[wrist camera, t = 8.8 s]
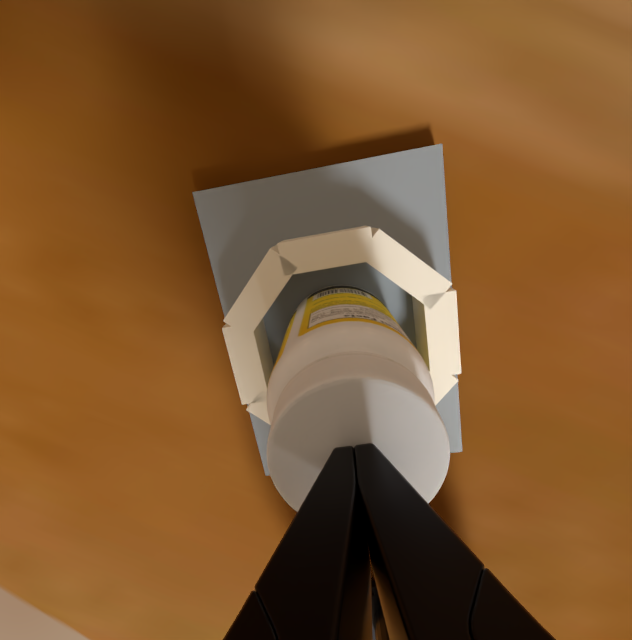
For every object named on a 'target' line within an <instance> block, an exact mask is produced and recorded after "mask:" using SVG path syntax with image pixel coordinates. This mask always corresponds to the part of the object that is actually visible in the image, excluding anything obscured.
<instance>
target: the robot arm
mask: <svg viewBox="0 0 632 640" xmlns="http://www.w3.org/2000/svg"><path fill="white" fill-rule="evenodd" d="M368 547H369V548H368ZM369 553H370V556H369ZM370 559H371V564H372V569H373V574H374V578H375V580H371V567H370ZM223 640H556V639H555V638H554V637H553V636H552V635H551V634H550V633H549V632H547V631H546V630H545V629H544V628H543V627H542V626H541V625H540V624H539V623H538V621H537V620H536V619H535V618H534V617H533V616H532V615H531V614H530V613H529V612H528V611H527V610H526V609H525V608H524V607H523V606H522V605H521V604H520V603H519V602H518V601H517V600H516V599H515V598H514V596H513V595H512V594H511V593H510V592H509V591H508V590H507V589H506V588H505V587H504V586H503V585H502V584H501V582H500V581H499V580H498V579H497V578H496V577H495V576H494V575H493V574H492V573H491V571H490V570H489V569H487V568H485V569H484V564H483V563H482V562H481V561H480V560H479V559H478V558H477V556H476V555H475V554H474V553H473V552H472V551H471V550H470V549H469V548H468V547H467V545H466V544H465V543H464V542H463V541H462V540H461V539H460V538H459V537H458V536H457V535H456V533H455V532H454V531H453V530H452V529H451V528H450V527H449V526H448V525H447V524H446V522H445V521H444V520H443V519H442V518H441V517H440V516H439V515H438V514H437V513H436V512H435V510H434V509H433V508H432V507H431V506H430V505H429V504H428V503H427V502H426V501H425V499H424V498H423V497H422V496H421V495H420V494H419V493H418V492H417V491H416V490H415V489H414V487H413V486H412V485H411V484H410V483H409V482H408V481H407V480H406V479H405V478H404V476H403V475H402V474H401V473H400V472H399V471H398V470H397V469H396V468H395V467H394V466H393V464H392V463H391V462H390V461H389V460H388V459H387V458H386V457H385V456H384V455H383V453H382V452H381V451H380V450H379V449H378V448H377V447H376V446H375V445H374V444H373V443H367V444H359V445H356V446H355V447H354V448H353V447H352V446H343V447H336V448H334V449H333V451H332V453H331V454H330V456H329V458H328V460H327V461H326V463H325V465H324V467H323V468H322V470H321V472H320V474H319V475H318V477H317V479H316V481H315V482H314V484H313V486H312V487H311V489H310V491H309V493H308V494H307V496H306V498H305V500H304V501H303V503H302V505H301V507H300V508H299V510H298V512H297V514H296V515H295V517H294V519H293V521H292V522H291V524H290V526H289V528H288V529H287V531H286V533H285V534H284V536H283V538H282V540H281V541H280V543H279V545H278V547H277V548H276V550H275V552H274V554H273V555H272V557H271V559H270V561H269V562H268V564H267V566H266V568H265V569H264V571H263V573H262V574H261V576H260V578H259V580H258V581H257V583H256V585H255V591H252V592H251V593H250V595H249V597H248V598H247V600H246V602H245V604H244V605H243V607H242V609H241V611H240V612H239V614H238V616H237V617H236V619H235V621H234V622H233V624H232V626H231V627H230V629H229V631H228V632H227V634H226V635H225V637H224V639H223Z"/></svg>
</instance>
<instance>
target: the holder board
mask: <svg viewBox="0 0 632 640" xmlns="http://www.w3.org/2000/svg"><path fill="white" fill-rule="evenodd" d="M192 193H193V197H194V201H195V205H196V209H197V212H198V216H199V220H200V224H201V228H202V232H203V236H204V239H205V243H206V247H207V251H208V255H209V259H210V263H211V267H212V270H213V274H214V278H215V282H216V286H217V290H218V294H219V297H220V301H221V305H222V309H223V313H224V317H225V318H224V320H223V321H224V322H225V323H226V324H225V325H224V326H223V327H222V331H223V335H224V338H225V342H226V346H227V350H228V354H229V357H230V361H231V365H232V369H233V372H234V376H235V380H236V384H237V388H238V391H239V395H240V399H241V403H242V405H243V404H247V406H248V407H247V409H246V410H247V411H248V412H249V413H250V417H251V421H252V425H253V429H254V433H255V436H256V440H257V444H258V448H259V452H260V456H261V460H262V463H263V467H264V471H265V475H266V476H268V475H270V473H269V469H268V464H267V441H268V436H269V432H270V428H271V424H270V421H269V417H268V411H267V387H268V382H269V379H270V376H271V373H272V370H273V368H274V365H275V363H276V360H277V357H278V354H279V351H280V349H281V346H282V343H283V340H284V337H285V334H286V331H287V328H288V324H289V322H290V319H291V317H292V315H293V313H294V312H295V310H296V308H297V307H298V306H299V304H300V303H301V302H302V301H303V300H304V299H305V298H306V297H308V296H309V295H310V294H312V293H313V292H315V291H317V290H319V289H322V288H324V287H328V286H333V285H350V286H355V287H359V288H361V289H364V290H366V291H368V292H370V293H372V294H373V295H374V296H376V297H377V298H378V299H379V300H380V301H381V302H382V303H383V304H384V305H385V306H386V308H387V309H388V310H389V312H390V313H391V315H392V316H393V317H394V319H395V320H396V321H397V323H398V324H399V326H400V327H401V328H402V330H403V331H404V333H405V334H406V335H407V337H408V338H409V340H410V341H411V342H412V344H413V345H414V347H415V348H416V349H417V350H418V352H419V353H420V355H421V356H422V358H423V360H424V362H425V364H426V365H427V368H428V370H429V373H430V375H431V378H432V382H433V387H434V399H435V403H434V404H435V407H436V409H437V411H438V413H439V415H440V417H441V419H442V421H443V423H444V425H445V428H446V431H447V435H448V438H449V445H450V453H454V452H462V439H461V423H460V408H459V393H458V381H459V380H458V377H457V374H461V361H460V345H459V329H458V312H457V296H456V290H454V289H452V286H451V285H452V283H451V271H450V255H449V240H448V225H447V210H446V194H445V179H444V164H443V149H442V144H437V145H432V146H427V147H422V148H417V149H412V150H406V151H401V152H396V153H391V154H386V155H381V156H376V157H371V158H365V159H360V160H355V161H350V162H345V163H340V164H335V165H330V166H324V167H319V168H314V169H309V170H304V171H299V172H294V173H289V174H283V175H278V176H273V177H268V178H263V179H258V180H253V181H248V182H242V183H237V184H232V185H227V186H222V187H217V188H212V189H206V190H201V191H196V192H192Z"/></svg>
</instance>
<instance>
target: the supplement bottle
mask: <svg viewBox="0 0 632 640" xmlns="http://www.w3.org/2000/svg"><path fill="white" fill-rule="evenodd" d="M434 403H435V399H434V387H433V382H432V378H431V375H430V373H429V370H428V368H427V365H426V364H425V362H424V360H423V358H422V356H421V355H420V353H419V352H418V350H417V349H416V348H415V347H414V345H413V344H412V342H411V341H410V340H409V338H408V337H407V335H406V334H405V333H404V331H403V330H402V328H401V327H400V326H399V324H398V323H397V321H396V320H395V319H394V317H393V316H392V315H391V313H390V312H389V310H388V309H387V308H386V306H385V305H384V304H383V303H382V302H381V301H380V300H379V299H378V298H377V297H376V296H374V295H373V294H372V293H370V292H368V291H366V290H364V289H361V288H359V287H355V286H350V285H333V286H328V287H324V288H322V289H319V290H317V291H315V292H313V293H312V294H310V295H309V296H308V297H306V298H305V299H304V300H303V301H302V302H301V303H300V304H299V306H298V307H297V308H296V310H295V312H294V313H293V315H292V317H291V319H290V322H289V324H288V328H287V331H286V334H285V337H284V340H283V343H282V346H281V349H280V351H279V354H278V357H277V360H276V363H275V365H274V368H273V370H272V373H271V376H270V379H269V382H268V387H267V411H268V417H269V421H270V424H271V428H270V432H269V436H268V441H267V464H268V469H269V473H270V476H271V478H272V481H273V483H274V485H275V487H276V489H277V491H278V492H279V493H280V495H281V496H282V497H283V499H284V500H285V501H286V502H287V503H288V504H289V505H290V506H291V507H292V508H293V509H294V510H295V511H297V512H298V510H299V508H300V507H301V505H302V503H303V501H304V500H305V498H306V496H307V494H308V493H309V491H310V489H311V487H312V486H313V484H314V482H315V481H316V479H317V477H318V475H319V474H320V472H321V470H322V468H323V467H324V465H325V463H326V461H327V460H328V458H329V456H330V454H331V453H332V451H333V449H334V448H336V447H343V446H352V447H353V448H354V447H355V446H356V445H359V444H367V443H373V444H374V445H375V446H376V447H377V448H378V449H379V450H380V451H381V452H382V453H383V455H384V456H385V457H386V458H387V459H388V460H389V461H390V462H391V463H392V464H393V466H394V467H395V468H396V469H397V470H398V471H399V472H400V473H401V474H402V475H403V476H404V478H405V479H406V480H407V481H408V482H409V483H410V484H411V485H412V486H413V487H414V489H415V490H416V491H417V492H418V493H419V494H420V495H421V496H422V497H423V498H424V499H425V501H426V502H427V503H429V502H430V501H431V500H432V499H433V498H434V497H435V495H436V494H437V492H438V491H439V489H440V488H441V486H442V484H443V482H444V479H445V477H446V474H447V471H448V467H449V460H450V445H449V438H448V435H447V431H446V428H445V425H444V423H443V421H442V419H441V417H440V415H439V413H438V411H437V409H436V407H435V404H434Z"/></svg>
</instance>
